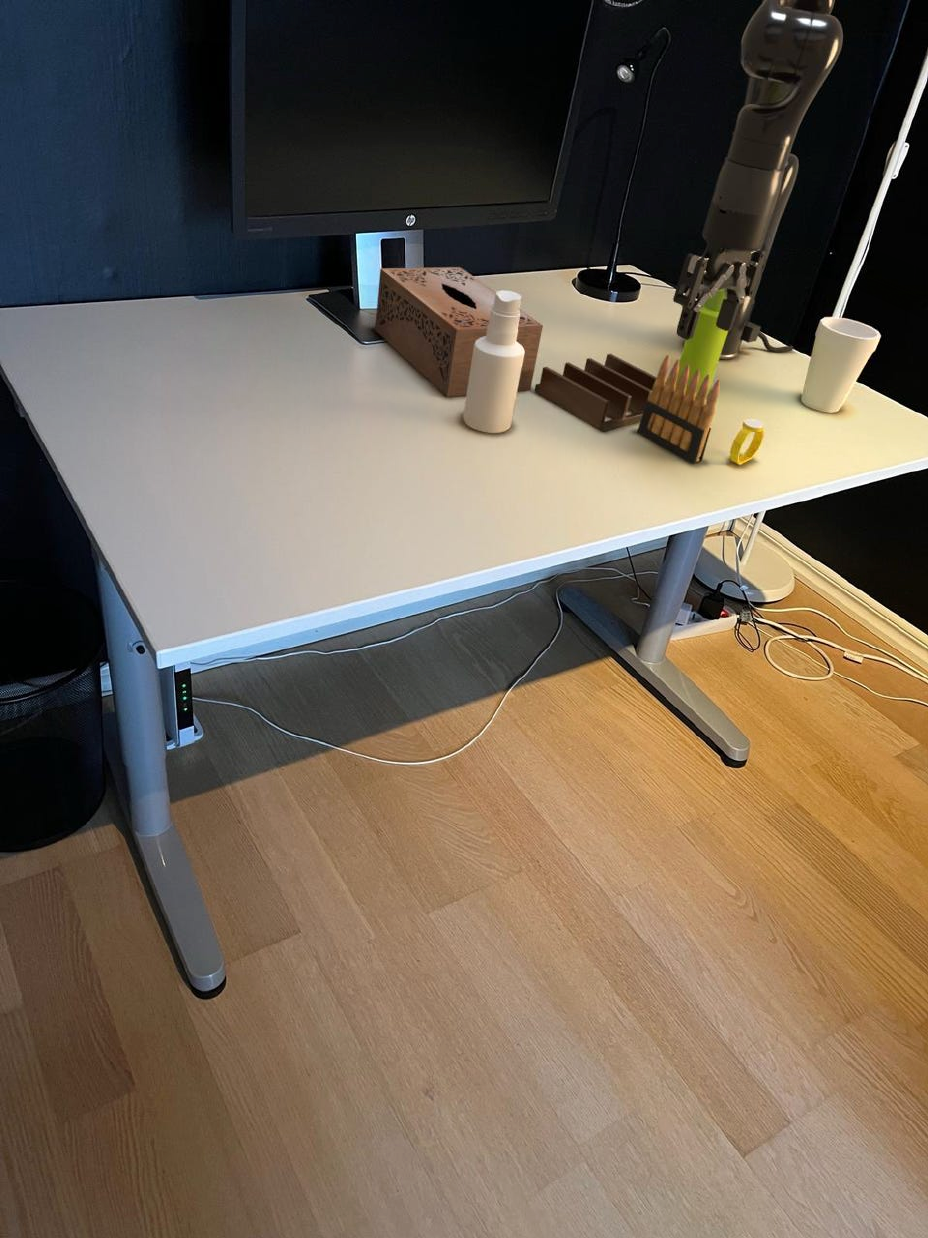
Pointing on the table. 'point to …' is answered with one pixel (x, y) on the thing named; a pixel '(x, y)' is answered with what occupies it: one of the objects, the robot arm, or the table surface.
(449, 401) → the table surface
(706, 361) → the soap dispenser
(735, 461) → the watch
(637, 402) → the slotted rack
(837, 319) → the foam cup
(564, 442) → the table surface
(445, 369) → the tissue box cover
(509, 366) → the spray bottle
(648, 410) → the ammunition clip
